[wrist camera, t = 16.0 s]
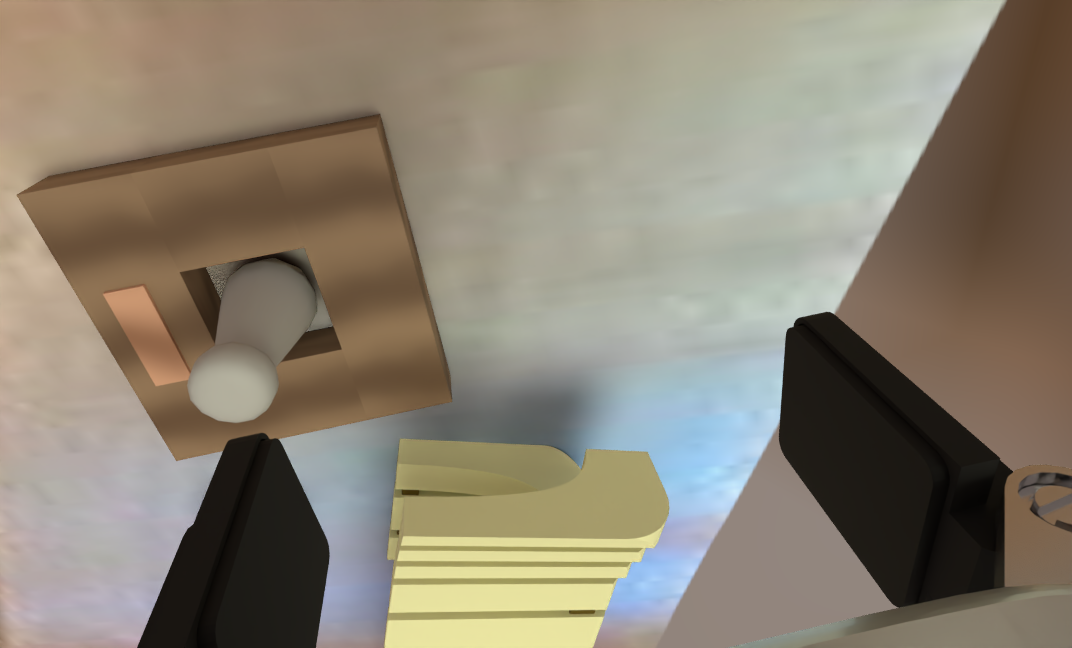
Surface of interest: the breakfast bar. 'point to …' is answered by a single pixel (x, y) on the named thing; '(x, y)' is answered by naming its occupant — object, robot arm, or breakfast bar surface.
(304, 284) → the salt shaker
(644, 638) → the breakfast bar surface
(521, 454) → the slatted curved stool
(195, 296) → the socket block
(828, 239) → the breakfast bar surface
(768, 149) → the breakfast bar surface
